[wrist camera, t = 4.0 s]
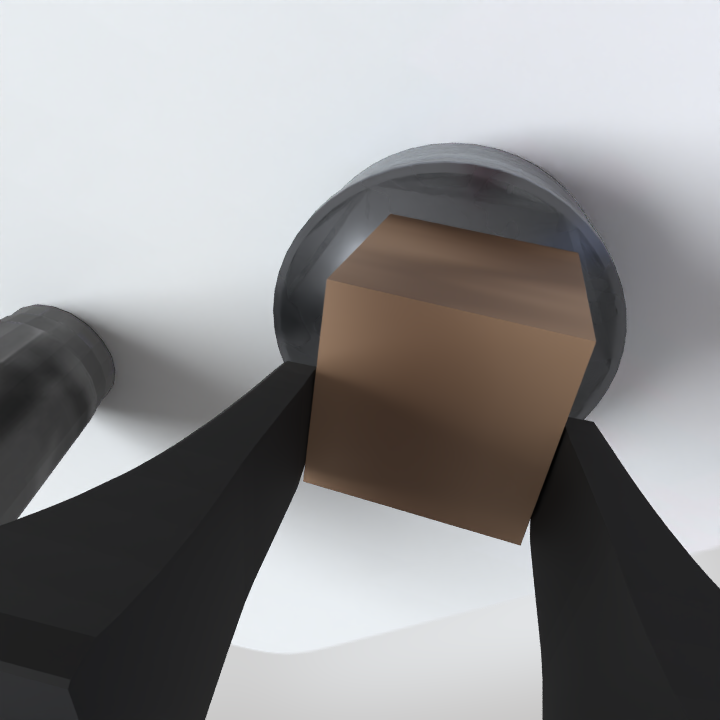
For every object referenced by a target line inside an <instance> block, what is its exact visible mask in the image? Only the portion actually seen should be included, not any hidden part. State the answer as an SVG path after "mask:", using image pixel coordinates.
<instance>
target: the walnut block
mask: <svg viewBox="0 0 720 720" xmlns="http://www.w3.org/2000/svg"><path fill="white" fill-rule="evenodd" d="M595 344H596V338H595V333H594V328H593V323H592V318H591V313H590V308H589V303H588V298H587V293H586V288H585V283H584V278H583V273H582V268H581V263H580V258H579V253H577V252H572V251H567V250H562V249H557V248H553V247H548V246H543V245H538V244H533V243H529V242H524V241H519V240H514V239H509V238H505V237H500V236H495V235H490V234H485V233H481V232H476V231H471V230H466V229H462V228H457V227H452V226H447V225H442V224H438V223H433V222H428V221H423V220H418V219H414V218H409V217H404V216H399V215H394V214H390V215H389V216H388V217H387V218H386V219H385V220H384V221H383V222H382V223H381V224H380V225H379V226H378V227H377V228H376V229H375V230H374V231H373V232H372V233H371V234H370V235H369V236H368V237H367V238H366V239H365V240H364V241H363V242H362V243H361V245H360V246H359V247H358V248H357V249H356V250H355V251H354V252H353V253H352V254H351V255H350V256H349V257H348V258H347V259H346V260H345V261H344V262H343V263H342V264H341V265H340V266H339V267H338V268H337V269H336V270H335V271H334V272H333V273H332V274H331V275H330V276H329V277H328V278H327V281H326V290H325V299H324V307H323V316H322V324H321V333H320V342H319V350H318V359H317V368H316V376H315V385H314V393H313V402H312V411H311V419H310V428H309V436H308V445H307V454H306V462H305V471H304V479H303V481H304V482H307V483H311V484H314V485H317V486H321V487H324V488H328V489H331V490H334V491H338V492H341V493H345V494H348V495H351V496H355V497H358V498H362V499H365V500H368V501H372V502H375V503H378V504H382V505H385V506H389V507H392V508H395V509H399V510H402V511H406V512H409V513H412V514H416V515H419V516H423V517H426V518H429V519H433V520H436V521H439V522H443V523H446V524H450V525H453V526H456V527H460V528H463V529H467V530H470V531H473V532H477V533H480V534H484V535H487V536H490V537H494V538H497V539H500V540H504V541H507V542H511V543H514V544H517V545H521V543H522V540H523V537H524V534H525V532H526V529H527V526H528V524H529V521H530V518H531V516H532V513H533V510H534V508H535V505H536V502H537V500H538V497H539V494H540V491H541V489H542V486H543V483H544V481H545V478H546V475H547V473H548V470H549V467H550V465H551V462H552V459H553V456H554V454H555V451H556V448H557V446H558V443H559V440H560V438H561V435H562V432H563V430H564V427H565V424H566V422H567V419H568V416H569V413H570V411H571V408H572V405H573V403H574V400H575V397H576V395H577V392H578V389H579V387H580V384H581V381H582V378H583V376H584V373H585V370H586V368H587V365H588V362H589V360H590V357H591V354H592V352H593V349H594V346H595Z"/></svg>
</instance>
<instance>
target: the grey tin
mask: <svg viewBox="0 0 720 720" xmlns="http://www.w3.org/2000/svg"><path fill="white" fill-rule="evenodd" d="M390 214H394V215H399V216H404V217H409V218H414V219H418V220H423V221H428V222H433V223H438V224H442V225H447V226H452V227H457V228H462V229H466V230H471V231H476V232H481V233H485V234H490V235H495V236H500V237H505V238H509V239H514V240H519V241H524V242H529V243H533V244H538V245H543V246H548V247H553V248H557V249H562V250H567V251H572V252H577V253H579V258H580V263H581V268H582V273H583V278H584V283H585V288H586V293H587V298H588V303H589V308H590V313H591V318H592V323H593V328H594V333H595V338H596V344H595V346H594V349H593V352H592V354H591V357H590V360H589V362H588V365H587V368H586V370H585V373H584V376H583V378H582V381H581V384H580V387H579V389H578V392H577V395H576V397H575V400H574V403H573V405H572V408H571V411H570V413H569V416H568V417H571V418H576V419H581V420H584V419H585V418H586V417H587V416H588V414H589V413H590V412H591V411H592V410H593V409H594V408H595V407H596V406H597V404H598V403H599V401H600V400H601V399H602V397H603V396H604V394H605V393H606V391H607V390H608V388H609V386H610V384H611V382H612V380H613V378H614V376H615V374H616V372H617V370H618V366H619V363H620V360H621V357H622V354H623V350H624V343H625V337H626V305H625V300H624V294H623V288H622V285H621V282H620V279H619V277H618V274H617V271H616V268H615V265H614V263H613V260H612V257H611V255H610V254H609V252H608V250H607V248H606V246H605V244H604V243H603V241H602V239H601V237H600V236H599V234H598V233H597V232H596V231H595V229H594V228H593V227H592V225H591V224H590V223H589V221H588V219H587V218H586V216H585V214H584V212H583V210H582V209H581V208H580V206H579V205H578V204H577V202H576V201H575V200H574V198H573V197H572V196H571V194H570V193H569V192H568V191H567V190H566V189H565V188H564V187H562V186H561V185H560V184H559V183H558V182H557V181H556V180H555V179H554V178H553V177H551V176H550V175H548V174H547V173H546V172H544V171H543V170H542V169H540V168H539V167H537V166H535V165H534V164H532V163H530V162H528V161H526V160H524V159H522V158H520V157H518V156H516V155H513V154H510V153H507V152H504V151H501V150H499V149H495V148H490V147H485V146H481V145H476V144H462V143H444V144H430V145H425V146H421V147H416V148H411V149H408V150H405V151H402V152H399V153H396V154H393V155H390V156H388V157H386V158H384V159H382V160H380V161H378V162H376V163H375V164H373V165H371V166H369V167H368V168H367V169H365V170H364V171H362V172H361V173H359V174H358V175H357V176H355V177H354V178H353V179H352V180H351V181H350V182H349V183H348V184H347V185H345V186H344V187H343V188H342V189H341V190H340V191H338V192H337V193H336V194H334V195H333V196H331V197H330V198H329V199H328V200H327V201H326V202H325V203H324V204H323V205H322V206H321V207H320V208H318V209H317V210H316V211H315V213H314V214H313V215H312V216H311V218H310V219H309V220H308V221H307V223H306V224H305V225H304V226H303V228H302V229H301V230H300V231H299V233H298V234H297V235H296V237H295V239H294V241H293V242H292V244H291V246H290V248H289V249H288V251H287V253H286V255H285V258H284V260H283V263H282V265H281V268H280V271H279V274H278V278H277V283H276V287H275V293H274V307H273V314H274V328H275V333H276V338H277V343H278V347H279V350H280V353H281V356H282V358H283V361H284V362H286V361H291V362H296V363H301V364H306V365H311V366H316V367H317V359H318V350H319V342H320V333H321V324H322V316H323V307H324V299H325V290H326V281H327V278H328V277H329V276H330V275H331V274H332V273H333V272H334V271H335V270H336V269H337V268H338V267H339V266H340V265H341V264H342V263H343V262H344V261H345V260H346V259H347V258H348V257H349V256H350V255H351V254H352V253H353V252H354V251H355V250H356V249H357V248H358V247H359V246H360V245H361V243H362V242H363V241H364V240H365V239H366V238H367V237H368V236H369V235H370V234H371V233H372V232H373V231H374V230H375V229H376V228H377V227H378V226H379V225H380V224H381V223H382V222H383V221H384V220H385V219H386V218H387V217H388V216H389V215H390Z"/></svg>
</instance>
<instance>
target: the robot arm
mask: <svg viewBox="0 0 720 720" xmlns="http://www.w3.org/2000/svg"><path fill="white" fill-rule="evenodd" d="M316 368H317V367H316V366H311V365H306V364H301V363H296V362H291V361H286V362H284V363H283V364H281V365H280V366H279V367H278V368H277V369H275V370H274V371H273V372H272V373H271V374H269V375H268V376H267V377H266V378H265V379H264V380H262V381H261V382H260V383H259V384H257V385H256V386H255V387H254V388H253V389H251V390H250V391H249V392H248V393H246V394H245V395H244V396H243V397H241V398H240V399H239V400H237V401H236V402H235V403H234V404H232V405H231V406H230V407H228V408H227V409H226V410H224V411H223V412H222V413H220V414H219V415H218V416H216V417H215V418H214V419H212V420H211V421H209V422H208V423H207V424H205V425H204V426H202V427H201V428H199V429H198V430H196V431H195V432H193V433H192V434H190V435H189V436H187V437H186V438H184V439H183V440H182V441H180V442H178V443H177V444H175V445H174V446H172V447H170V448H169V449H167V450H166V451H164V452H162V453H161V454H159V455H157V456H156V457H154V458H152V459H150V460H149V461H147V462H145V463H143V464H141V465H140V466H138V467H136V468H134V469H132V470H130V471H128V472H127V473H125V474H122V475H120V476H118V477H116V478H114V479H112V480H110V481H108V482H105V483H103V484H101V485H99V486H97V487H95V488H93V489H91V490H88V491H86V492H84V493H82V494H80V495H78V496H75V497H73V498H71V499H68V500H66V501H64V502H61V503H59V504H56V505H54V506H51V507H49V508H46V509H44V510H41V511H39V512H36V513H33V514H31V515H28V516H25V517H23V518H20V519H17V520H15V521H12V522H9V523H6V524H3V525H0V720H205V718H206V715H207V712H208V709H209V705H210V703H211V700H212V697H213V694H214V691H215V688H216V685H217V682H218V679H219V676H220V673H221V670H222V667H223V664H224V661H225V658H226V654H227V652H228V649H229V647H230V644H231V641H232V638H233V635H234V632H235V630H236V627H237V624H238V621H239V618H240V615H241V612H242V610H243V607H244V604H245V601H246V599H247V597H248V594H249V592H250V589H251V587H252V585H253V582H254V580H255V578H256V576H257V573H258V571H259V569H260V567H261V565H262V563H263V561H264V558H265V556H266V554H267V552H268V550H269V548H270V546H271V543H272V541H273V539H274V537H275V535H276V533H277V531H278V528H279V526H280V524H281V522H282V520H283V518H284V515H285V513H286V511H287V509H288V507H289V505H290V502H291V500H292V498H293V496H294V494H295V491H296V489H297V487H298V484H299V481H300V478H301V475H302V472H303V469H304V466H305V462H306V454H307V445H308V436H309V428H310V419H311V411H312V402H313V393H314V385H315V376H316ZM530 545H531V556H532V567H533V577H534V587H535V597H536V606H537V616H538V626H539V635H540V644H541V658H542V677H543V720H720V588H719V587H718V586H717V585H716V584H715V583H714V582H713V581H712V580H711V579H710V578H709V577H708V576H707V575H706V573H705V572H704V571H703V570H702V569H701V568H700V566H699V565H698V564H697V563H696V562H695V561H694V560H693V558H692V557H691V556H690V555H689V553H688V552H687V551H686V550H685V548H684V547H683V546H682V545H681V544H680V542H679V541H678V540H677V539H676V537H675V536H674V535H673V534H672V532H671V531H670V530H669V529H668V527H667V526H666V525H665V524H664V522H663V521H662V520H661V518H660V517H659V516H658V514H657V513H656V512H655V510H654V509H653V508H652V506H651V505H650V504H649V502H648V501H647V499H646V498H645V497H644V495H643V494H642V493H641V491H640V490H639V488H638V487H637V485H636V484H635V483H634V481H633V480H632V478H631V477H630V475H629V474H628V472H627V471H626V470H625V468H624V467H623V465H622V464H621V462H620V461H619V459H618V458H617V456H616V455H615V453H614V452H613V450H612V449H611V447H610V446H609V444H608V443H607V441H606V440H605V438H604V437H603V435H602V433H601V432H600V431H599V429H598V428H597V426H596V425H595V423H594V422H591V421H586V420H581V419H576V418H571V417H568V419H567V422H566V424H565V427H564V430H563V432H562V435H561V438H560V440H559V443H558V446H557V448H556V451H555V454H554V456H553V459H552V462H551V465H550V467H549V470H548V473H547V475H546V478H545V481H544V483H543V486H542V489H541V491H540V494H539V497H538V500H537V502H536V505H535V508H534V510H533V513H532V516H531V518H530Z"/></svg>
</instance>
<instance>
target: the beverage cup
mask: <svg viewBox="0 0 720 720" xmlns="http://www.w3.org/2000/svg"><path fill="white" fill-rule="evenodd" d="M114 375H115V369H114V365H113V361H112V358H111V355H110V353H109V351H108V350H107V348H106V346H105V345H104V343H103V341H102V340H101V338H100V337H99V336H98V335H97V334H96V333H95V332H94V331H93V330H92V329H91V328H90V327H89V326H88V325H87V324H85V323H84V322H82V321H81V320H79V319H78V318H76V317H75V316H73V315H72V314H70V313H68V312H65V311H63V310H60V309H58V308H55V307H52V306H43V305H32V306H28V307H23V308H21V309H19V310H18V311H16V312H15V313H14V314H12V315H10V316H7V317H5V318H3V319H1V320H0V525H3V524H6V523H9V522H12V521H15V520H17V519H18V517H19V516H20V515H21V513H22V512H23V511H24V509H25V508H26V507H27V505H28V504H29V503H30V501H31V500H32V498H33V497H34V496H35V494H36V493H37V492H38V490H39V489H40V488H41V486H42V485H43V484H44V482H45V481H46V480H47V478H48V477H49V475H50V474H51V473H52V471H53V470H54V469H55V467H56V466H57V465H58V463H59V462H60V461H61V459H62V458H63V456H64V455H65V454H66V452H67V451H68V450H69V448H70V447H71V446H72V444H73V443H74V442H75V440H76V439H77V438H78V436H79V435H80V433H81V432H82V431H83V429H84V428H85V427H86V425H87V424H88V423H89V421H90V420H91V418H92V416H93V415H94V413H95V411H96V408H97V407H98V405H99V404H100V402H101V401H102V399H103V398H104V397H105V396H106V395H107V394H108V392H109V390H110V389H111V387H112V386H113V384H114Z"/></svg>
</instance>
